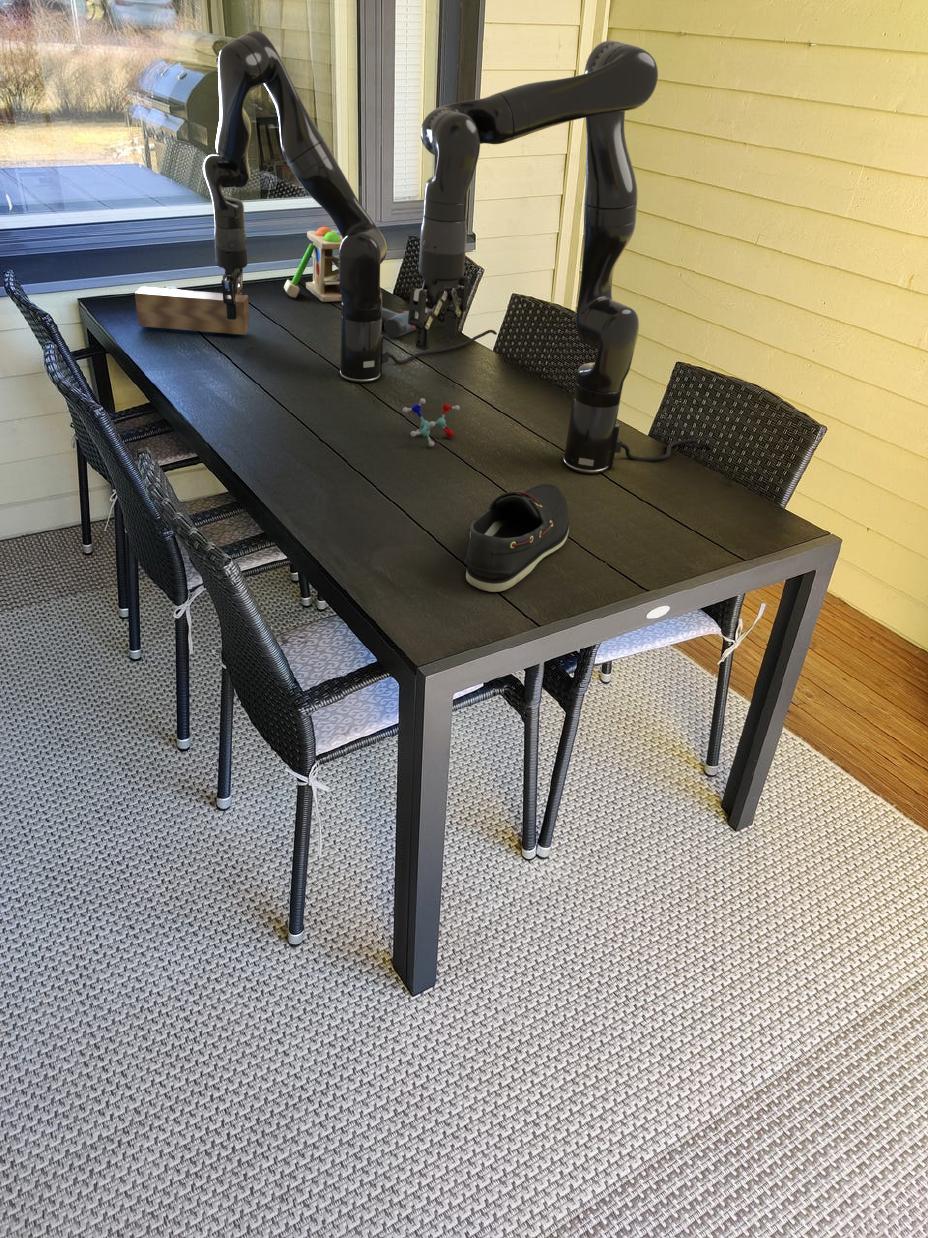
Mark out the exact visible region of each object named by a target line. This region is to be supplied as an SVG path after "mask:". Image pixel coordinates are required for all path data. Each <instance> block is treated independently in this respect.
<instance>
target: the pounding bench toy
mask: <svg viewBox="0 0 928 1238" xmlns="http://www.w3.org/2000/svg"><path fill="white" fill-rule="evenodd" d="M306 237H307V239H309V240H310V241H311V242H312V243H309V244H308V246H307V248H306V251H305V253H304V255H303V257H302V259H301V261H300V263H299V265H298V267H297V269H296V271H295V273H294V275H293V278H292V280H290V279H287V280H286V281H285V283H284V285H283V289H284V290H285V292H286V294H287V296H289V297H291V298H297V296H298V295H299V292H300V287H299V285H298V284H299V282H300V280H301V278H302V276H303V275H304V272H305V270H306V268H307V265H308V263H309V262H310V259H311V258H312V281H307V282H306V281H305V288H306V289H307V291H309V292H310V293H311V294H312V295H314V296H315V298H318V299H319V301H321V302H323V303H327V302H329V303H330V302H341V292H340V288H339V255H333V251H334V250H340V245H341V243H342V241H343V238H342V236H341V234H340V232H339V230H338V229H335V230H332V229H331V228H330V227H328V226H321V227H319V228H318V229H317V230H307V231H306ZM333 264H334V265H335V267H336V269H334V270H333Z"/></svg>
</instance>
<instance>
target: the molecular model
mask: <svg viewBox="0 0 928 1238" xmlns="http://www.w3.org/2000/svg"><path fill="white" fill-rule="evenodd" d="M425 404H426V399H425V398H420V399H419V403H418V404H414V405H413V406H412V407H409V408H408V407H406V406H405V407H403V408H402V413H403V414H408V413H409V412H413V413H415V414H417V416H418V417H419V419H420V421H421V422H420V423H419V425H420V426H419V429H416V430H412V431H410V434H409V436H410V437H412V438H414V437H417V436H422V437H425V438H426V439H427V442H428V446H429V448H433V447H434V446H435V441H433V440H432V439H431V437H430V434H431V429H432V428H435V426H436V425H437V426H438V427H440V428H442V430H443V431H444V433H445V436H446V437H447V438H453V437H454V431H453V430H452V429H450V428H449V427H448V425H447V424H446V419H445V417H446V415H447V412H449V411H450V410H454V411H455V412H459V411H460V410H461V408H460V405H457V404H456V405H454V406H453V405H450V404H449V403H444V404H443V405H442V410H443V412H442V414H441V417H439V418H438V419H437V420H436V421H433V420H431V421H428V420H426V419H424V417H423V415H422V412H421V410H422V405H425Z"/></svg>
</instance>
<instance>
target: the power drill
mask: <svg viewBox="0 0 928 1238" xmlns="http://www.w3.org/2000/svg"><path fill="white" fill-rule="evenodd" d="M425 308H427V309H429V308H428V307H427V306H426V307H425ZM430 310H431V309H430ZM417 314H418V312H416V311H415V318H416V316H417ZM408 315H409V310H404V311H402V312H400V313H398V312H396V311H393V310H390V309H388V308H386V307H383V306H382V326H381V327H383V328H384V331H385V334H386V335H387V336H389V337H390V338H393V339H397V338H399V337H402V336H405V335H407V334H410V333H412V332H416V326H413V325H410V324H408ZM427 316H428V315H425V318H424V321H425V320H426V318H427ZM434 320H435V318H433V320H432V322H433V321H434Z"/></svg>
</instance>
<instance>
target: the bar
mask: <svg viewBox="0 0 928 1238" xmlns="http://www.w3.org/2000/svg"><path fill="white" fill-rule="evenodd" d="M134 298H135V309H136V316H137V318H136V319H137V326H138V327H145V328H157V329H169V330H183V331H193V332H194V331H195V332H205V333H218V334H230V335H231V334H232V335H243V336H245V335H246V334H247V332H248V331H249V329H250V314H249V313H250V308H249V307H250V306H249V295H244V294H242V295H236V317H237V318H236V319H235V320H231V319H228V318H227V307H226V304H224V302H223V292H211V291H200V290H199V291H198V290H185V289H178V290H175V289H164V287H162V288H161V287H152V286H151V287H150V286H140V287H139V288H138V289H137V290H136V291H135V292H134ZM228 299H231V296H230V295H228Z"/></svg>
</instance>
